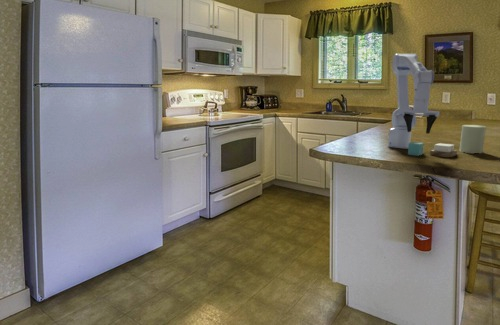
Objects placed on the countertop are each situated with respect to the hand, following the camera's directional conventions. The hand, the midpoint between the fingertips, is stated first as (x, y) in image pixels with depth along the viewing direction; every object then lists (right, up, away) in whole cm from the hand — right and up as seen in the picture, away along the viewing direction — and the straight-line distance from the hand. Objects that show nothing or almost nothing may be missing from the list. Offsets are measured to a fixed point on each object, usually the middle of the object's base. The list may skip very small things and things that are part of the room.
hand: (418, 132), depth 156 cm
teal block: (0, -9, +2) cm, 10 cm away
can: (+27, -8, +8) cm, 30 cm away
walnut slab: (+11, -10, +1) cm, 15 cm away
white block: (+11, -8, 0) cm, 13 cm away
